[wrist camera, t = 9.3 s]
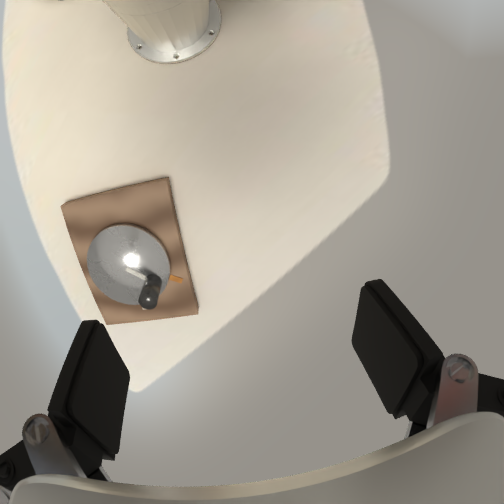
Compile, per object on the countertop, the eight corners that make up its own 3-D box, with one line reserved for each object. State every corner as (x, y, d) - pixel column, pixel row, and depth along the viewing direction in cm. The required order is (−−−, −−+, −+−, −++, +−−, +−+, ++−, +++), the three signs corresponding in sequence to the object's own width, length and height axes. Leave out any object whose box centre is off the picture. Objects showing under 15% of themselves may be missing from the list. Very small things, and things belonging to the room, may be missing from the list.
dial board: (66, 202, 36) (60, 206, 34) (168, 177, 37) (166, 180, 35) (109, 317, 46) (106, 325, 44) (198, 306, 47) (198, 314, 45)
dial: (81, 277, 39) (66, 300, 33) (105, 207, 35) (88, 223, 29) (151, 312, 43) (145, 338, 38) (185, 249, 39) (181, 270, 34)
